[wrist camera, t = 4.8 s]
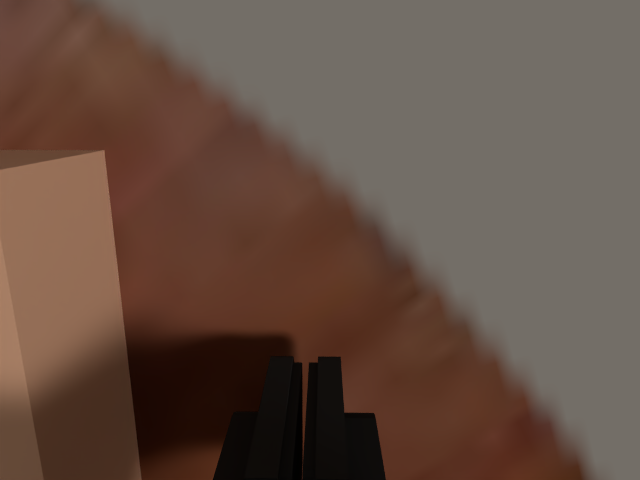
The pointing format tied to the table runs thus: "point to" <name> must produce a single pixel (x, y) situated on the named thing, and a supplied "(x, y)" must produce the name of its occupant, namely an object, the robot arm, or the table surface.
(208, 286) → the table surface
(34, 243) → the t block
